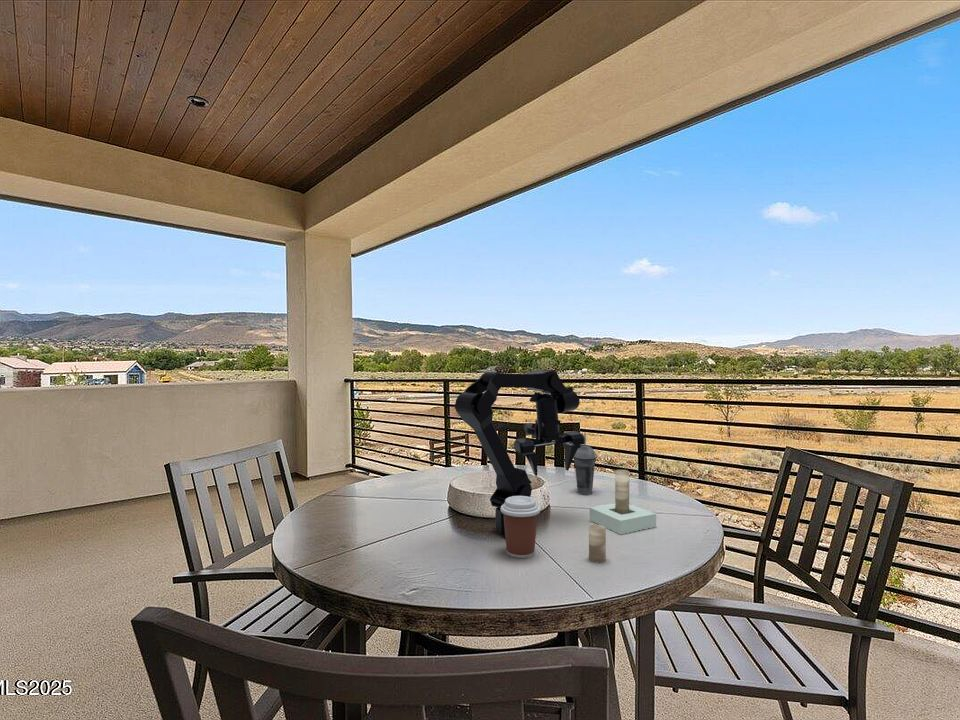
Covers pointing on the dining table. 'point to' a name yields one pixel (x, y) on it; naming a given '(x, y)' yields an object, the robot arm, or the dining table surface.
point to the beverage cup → (585, 468)
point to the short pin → (597, 543)
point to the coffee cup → (520, 525)
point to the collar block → (623, 518)
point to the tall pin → (622, 491)
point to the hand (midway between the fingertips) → (551, 472)
